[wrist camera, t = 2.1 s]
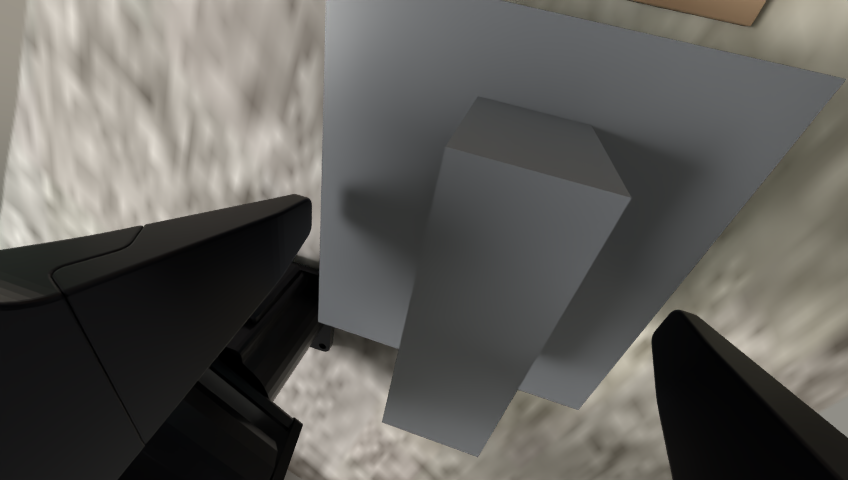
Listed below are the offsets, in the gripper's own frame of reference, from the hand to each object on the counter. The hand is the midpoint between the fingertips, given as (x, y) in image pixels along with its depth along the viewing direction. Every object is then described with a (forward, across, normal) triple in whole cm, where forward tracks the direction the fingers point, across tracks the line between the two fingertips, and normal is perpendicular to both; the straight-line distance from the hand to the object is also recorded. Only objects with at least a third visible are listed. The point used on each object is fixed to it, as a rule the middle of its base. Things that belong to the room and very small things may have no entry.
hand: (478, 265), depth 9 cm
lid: (+3, 0, 0) cm, 3 cm away
